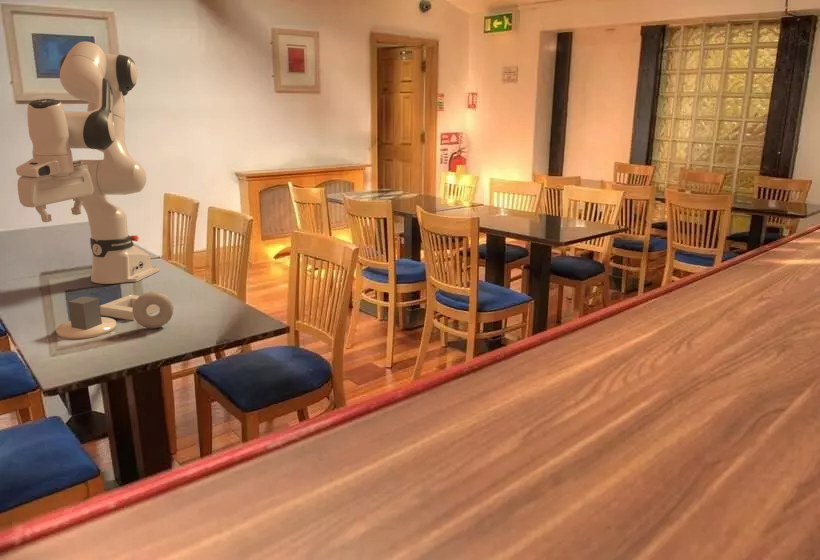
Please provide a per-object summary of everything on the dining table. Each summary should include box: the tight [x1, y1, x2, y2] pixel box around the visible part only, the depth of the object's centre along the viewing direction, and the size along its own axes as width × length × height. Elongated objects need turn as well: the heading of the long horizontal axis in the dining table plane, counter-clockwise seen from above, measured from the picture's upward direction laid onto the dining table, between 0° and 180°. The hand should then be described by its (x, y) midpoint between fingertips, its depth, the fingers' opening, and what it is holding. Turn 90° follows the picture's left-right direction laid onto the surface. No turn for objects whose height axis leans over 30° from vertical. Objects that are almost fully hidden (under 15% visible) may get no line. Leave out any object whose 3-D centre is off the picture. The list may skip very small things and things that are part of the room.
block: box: [67, 295, 102, 330], centre depth 164 cm, size 5×5×7 cm
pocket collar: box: [100, 294, 160, 321], centre depth 180 cm, size 12×12×2 cm
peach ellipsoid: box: [55, 316, 117, 340], centre depth 165 cm, size 14×14×1 cm
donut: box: [132, 291, 174, 329], centre depth 166 cm, size 10×4×10 cm, turn 114°
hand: (62, 217), depth 167 cm, fingers open, 8 cm apart
